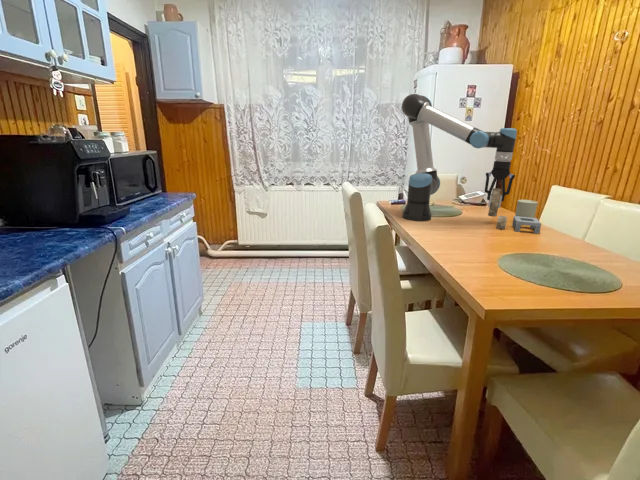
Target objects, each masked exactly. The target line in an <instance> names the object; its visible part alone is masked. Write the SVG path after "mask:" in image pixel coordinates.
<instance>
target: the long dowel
mask: <svg viewBox="0 0 640 480" xmlns="http://www.w3.org/2000/svg"><path fill="white" fill-rule="evenodd" d="M491 194H492V199H491V204H490V207H488V214H487V216H488V217H494V218H495V217H498V210H499V208H498V206H499V201H500V195H502V188H496V187H493V190H492V192H491Z"/></svg>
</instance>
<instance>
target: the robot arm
mask: <svg viewBox="0 0 640 480" xmlns="http://www.w3.org/2000/svg"><path fill="white" fill-rule="evenodd" d="M401 111H402V112H403V114H404V115H405V116H406V117H408V124H409V125H410V126H411V127H412V133H413V134H412V135H413V142H414V143H413V144H414V151H415V159H416V160H415V161H416V167H417V169H416V172H414V173H413V174H411V175H410V176H409V178H408V189H407V198H406V199H407V200H406V204H405V207H404V209H403V211H402V218H403V219H405V220H409V221H417V222H424V221H430V220H431V219H432V212H431V207H430V206H431V205H430V202H431V201H430V200H431V196H432V195H434V194H435V193H437V192H438V191H439V189H440V188H441V187H440V186H441V179H440V177H439V176H438V171H437V169H436V168H435V166H434V159H433V151H432V141H431V132H430V126H429V125H431V126H433V127H435V128H437V129H439V130H441V131H443V132H445V133H446V134H449V135H451V136H453V137H455V138H457V139H459V140H461V141H463V142H465V143H466V144H468V145H471V146H472V147H473V148H475V149H483V148H489V149H490V148H491V149H496V151H495V156H494V161H493V167H492V170H491V171H489V172H485V176H486V178H485V185H484V192H485V193H486V194H487V197H486V199H487V201H488V205H487V206H488V208H489V207H490V204H491V199H492V191H493V188H495V187H494V186H495V185H496V182H497V180H500V181H501V189H502V191H501V195H500V201H499V206H498V209H500V208H501V204H502V202H504V201H505V197H506V196H507V195H510V192H511V188H512V184H513V181H514V179H515V177H516V175H515V174H513V173H511V172H510V171H511V170H510V168H511V165H512V162H511V161H512V159H513V155H514V149H515V145H516V140H517V133H518V130H517V129H516V128H510V127H508V128H507V127H502V128H500V129H499V131H498V132H497V131H496V132H494V131H483V130H481V129H480V128H477V127H475V126H472V125H471V124H469V123H467V122H464V121H463V120H460V119H459V118H456V117H454V116H452V115H450V114H448V113H447V112H444V111H442V110H439V109H438V108H436V107H433V104H432V101H431V100H430V99H429V98H428V97H427V96H425V95H420V94H418V93H411V94H408V95H406V97H405V98H404V99H403V100H402V104H401ZM491 175H492V177H493V179H492V181H491V184H490V187H489V183H490V177H491ZM507 177H509V180H508V183H507V187H506V179H507ZM488 188H489V189H488Z"/></svg>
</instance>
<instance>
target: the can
mask: <svg viewBox="0 0 640 480" xmlns="http://www.w3.org/2000/svg"><path fill="white" fill-rule="evenodd" d="M537 207H538V201H536V200H532V199H518V200H517V204H516V209H515V214H514V216H519V217H530V218H536V217H535V216H536V212H537Z"/></svg>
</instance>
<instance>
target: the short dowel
mask: <svg viewBox="0 0 640 480" xmlns="http://www.w3.org/2000/svg"><path fill="white" fill-rule="evenodd" d="M507 220H508V216H506V215H497V221H496V225H495V226H496V227H495V228H496V230H503V231H504V230H506V226H507V223H508V222H507Z"/></svg>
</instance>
